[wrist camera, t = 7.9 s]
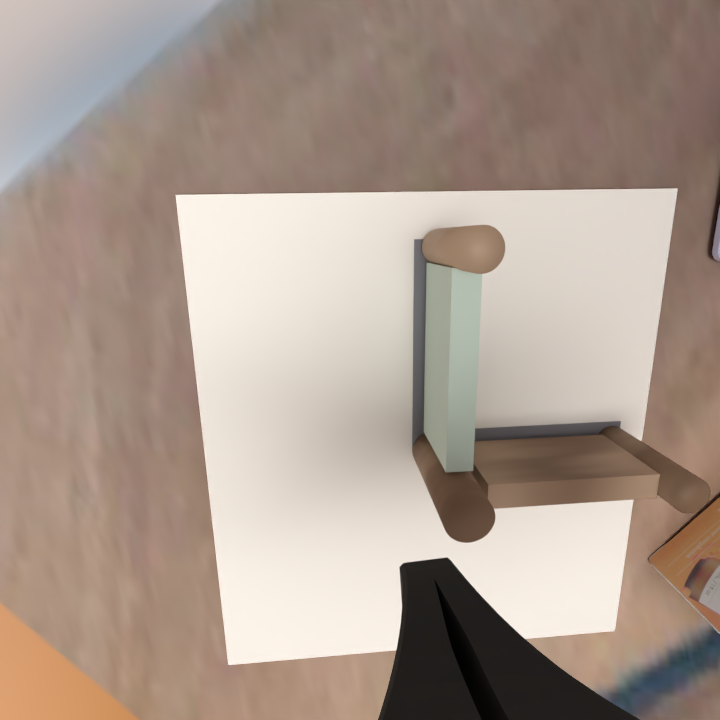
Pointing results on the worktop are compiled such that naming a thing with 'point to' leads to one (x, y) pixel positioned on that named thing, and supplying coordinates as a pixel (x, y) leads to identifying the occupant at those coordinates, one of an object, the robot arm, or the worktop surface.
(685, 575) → the small box
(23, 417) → the worktop surface
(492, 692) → the robot arm
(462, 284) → the panel
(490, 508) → the fixed fence
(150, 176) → the worktop surface
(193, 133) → the worktop surface
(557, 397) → the card
